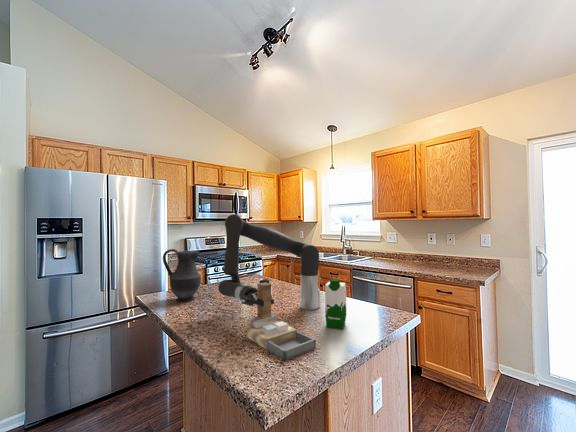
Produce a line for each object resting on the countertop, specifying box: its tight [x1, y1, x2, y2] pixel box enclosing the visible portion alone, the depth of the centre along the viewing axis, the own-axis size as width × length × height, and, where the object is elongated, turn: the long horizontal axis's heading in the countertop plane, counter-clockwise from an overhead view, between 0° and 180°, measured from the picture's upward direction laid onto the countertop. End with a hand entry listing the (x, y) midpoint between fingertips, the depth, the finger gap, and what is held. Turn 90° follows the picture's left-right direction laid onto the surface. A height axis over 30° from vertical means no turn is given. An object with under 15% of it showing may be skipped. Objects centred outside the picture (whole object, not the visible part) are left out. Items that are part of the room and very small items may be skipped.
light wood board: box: [246, 320, 298, 350], centre depth 104 cm, size 14×14×4 cm
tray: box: [266, 330, 317, 362], centre depth 94 cm, size 10×14×3 cm
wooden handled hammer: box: [250, 282, 278, 329], centre depth 108 cm, size 4×10×16 cm, turn 129°
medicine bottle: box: [255, 278, 273, 296], centre depth 157 cm, size 7×7×12 cm
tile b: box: [262, 324, 277, 335], centre depth 101 cm, size 4×4×2 cm
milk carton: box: [324, 278, 347, 330], centre depth 117 cm, size 9×9×20 cm
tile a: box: [274, 320, 289, 332], centre depth 104 cm, size 4×4×2 cm
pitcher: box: [162, 248, 202, 303], centre depth 157 cm, size 17×21×30 cm
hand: (268, 302), depth 106 cm, fingers closed on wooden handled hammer, 4 cm apart
